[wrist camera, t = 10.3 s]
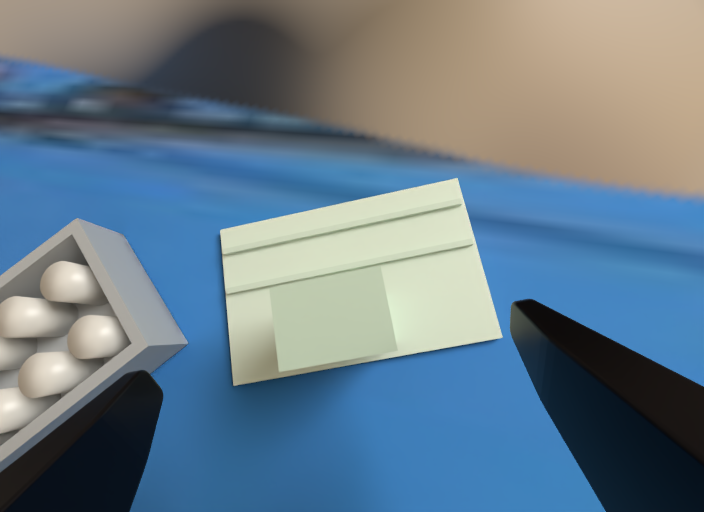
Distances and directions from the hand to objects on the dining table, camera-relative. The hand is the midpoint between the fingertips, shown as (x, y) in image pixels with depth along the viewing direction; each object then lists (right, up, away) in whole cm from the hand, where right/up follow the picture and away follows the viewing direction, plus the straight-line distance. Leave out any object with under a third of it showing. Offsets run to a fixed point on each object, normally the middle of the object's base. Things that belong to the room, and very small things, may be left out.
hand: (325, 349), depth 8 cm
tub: (-16, -4, +10) cm, 19 cm away
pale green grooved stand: (+1, +1, +10) cm, 10 cm away
